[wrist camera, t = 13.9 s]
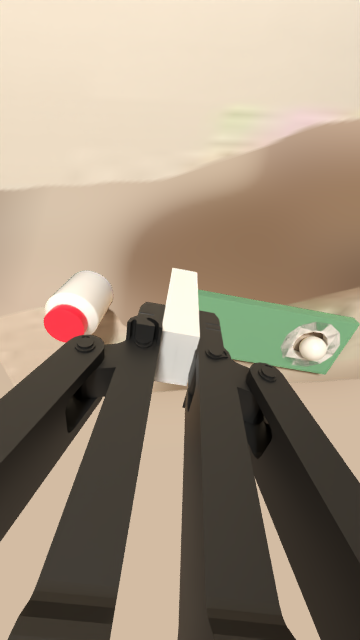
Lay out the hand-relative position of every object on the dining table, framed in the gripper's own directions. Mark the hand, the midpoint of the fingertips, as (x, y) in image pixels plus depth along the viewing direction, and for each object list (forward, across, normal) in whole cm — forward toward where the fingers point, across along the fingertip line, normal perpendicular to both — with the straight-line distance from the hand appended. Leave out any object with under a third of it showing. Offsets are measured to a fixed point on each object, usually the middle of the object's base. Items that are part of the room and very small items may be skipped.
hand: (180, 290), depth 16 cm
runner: (+24, +18, -17) cm, 35 cm away
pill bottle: (+25, -14, -15) cm, 32 cm away
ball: (+22, +27, -17) cm, 39 cm away
